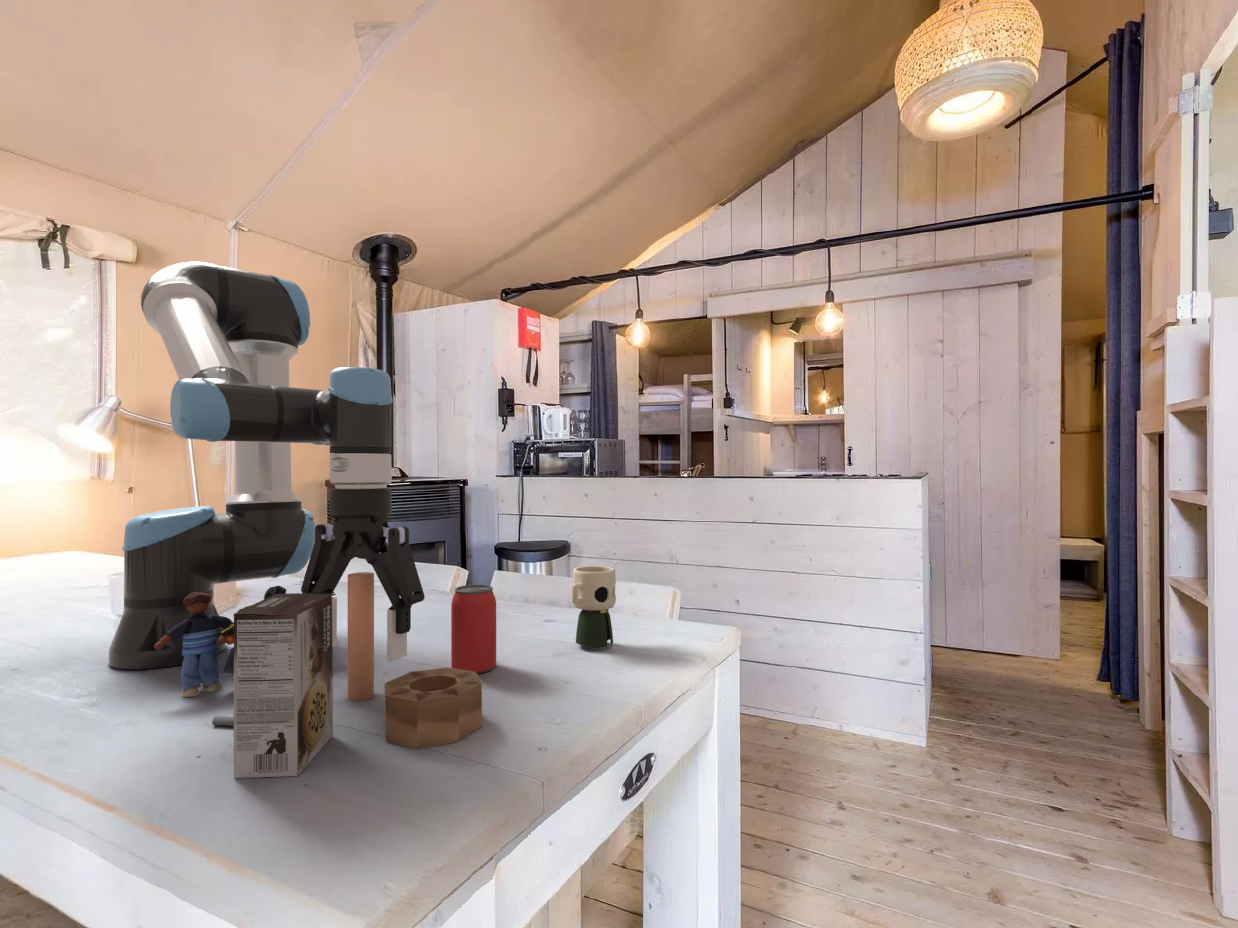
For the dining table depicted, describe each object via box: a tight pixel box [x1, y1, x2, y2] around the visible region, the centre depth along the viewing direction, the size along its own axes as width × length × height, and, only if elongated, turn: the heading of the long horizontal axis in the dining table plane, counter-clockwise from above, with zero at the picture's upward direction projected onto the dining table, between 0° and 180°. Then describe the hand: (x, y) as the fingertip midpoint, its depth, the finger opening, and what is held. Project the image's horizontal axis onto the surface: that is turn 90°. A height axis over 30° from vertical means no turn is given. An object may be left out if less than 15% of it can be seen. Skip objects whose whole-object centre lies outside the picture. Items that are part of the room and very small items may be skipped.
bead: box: [384, 667, 483, 749], centre depth 71 cm, size 10×10×5 cm
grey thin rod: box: [211, 715, 234, 727], centre depth 71 cm, size 10×1×1 cm, turn 83°
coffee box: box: [233, 592, 334, 779], centre depth 64 cm, size 9×6×16 cm
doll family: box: [154, 585, 287, 698], centre depth 88 cm, size 23×9×13 cm, turn 159°
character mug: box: [571, 565, 617, 649], centre depth 103 cm, size 11×7×13 cm, turn 143°
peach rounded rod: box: [347, 571, 375, 702], centre depth 81 cm, size 3×3×16 cm
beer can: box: [450, 584, 497, 675], centre depth 92 cm, size 7×7×12 cm
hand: (360, 652), depth 81 cm, fingers open, 11 cm apart
